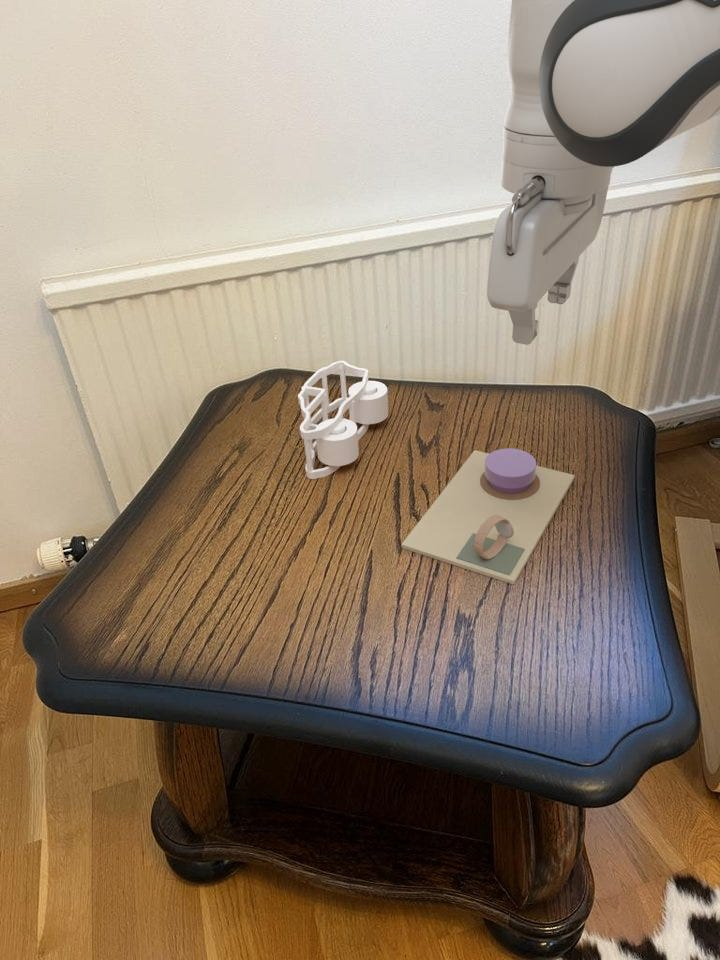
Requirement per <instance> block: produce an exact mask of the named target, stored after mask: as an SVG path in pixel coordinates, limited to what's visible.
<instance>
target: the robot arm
mask: <svg viewBox="0 0 720 960" xmlns="http://www.w3.org/2000/svg"><path fill="white" fill-rule="evenodd" d="M508 24H509V26H508V37H507V38H508V40H507V56H506V59H507V60H506V67H507V74H508V78H509V83H510V96H509V102H508V106H507V110H506V112H505V115H504V120H503V131H502V132H503V135H502V137H503V138H502V154H501V155H502V156H501V173H500V174H501V175H500V184H501V187H502V188H503V189H504V190H506V191H507V192H509V193H510V194H511V193H512V194H513V195H512V196H511V202H512V203H510V204H509V205H508V206H507V207H505V208H504V209H503V210H502V211H501V212H500V213H499V214H498V217H497V219H496V221H495V224H494V227H493V228H494V229H493V234H492V238H491V246H490V256H489V262H488V263H489V264H488V273H487V274H488V275H487V288H486V295H487V297H486V298H487V301H488V303H489V305H490V307H491V308H492V309H493V308H494V309H497V310H501V311H502V310H503V311H508V313H509V316H510V319H511V323H512V337H511V339H512V341H513V342H514V343H516V344H520V345H526V346H529V345H530V344H532V342H533V341H534V340H535V339H536V337H537V336H538V328H539V320H538V319H536V309H537V308H538V304H539V302H540V300H541V299H543V297H544V296H545V295H546V294H547V301H548V303H551V304H557V305H564V304H565V303H566V302H567V301H568V300H569V298H570V297H571V289H572V283H573V280H574V277H575V273H576V271H577V267H578V265H579V262H580V261H579V260H580V256H581V255H582V254H583V253H584V252H585V251H586V250H587V248H588V247H589V246H590V245H591V244H592V243H593V242H594V241H595V239H596V238H597V235H598V233H599V230H600V227H601V224H602V219H603V216H604V211H605V205H606V202H607V195H608V191H609V186H610V184H611V178H612V177H611V176H612V173H613V169H614V167H620V166H624V165H628V164H631V163H633V162H635V161H637V160H639V159H641V158H643V157H644V156H646V155H647V154H649V153H651V152H652V151H654V150H655V149H657V148H658V147H660V146H661V145H662V144H664V143H665V142H668V141H669V140H671V139H674V138H675V137H677V136H680V135H681V134H683V133H686V132H688V131H690V130H691V129H694V128H696V127H697V126H699V125H702V124H703V123H706V122H707V121H709V120H711V119H713V118H715V117H716V116H718V115H720V0H511V5H510V14H509V23H508Z"/></svg>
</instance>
